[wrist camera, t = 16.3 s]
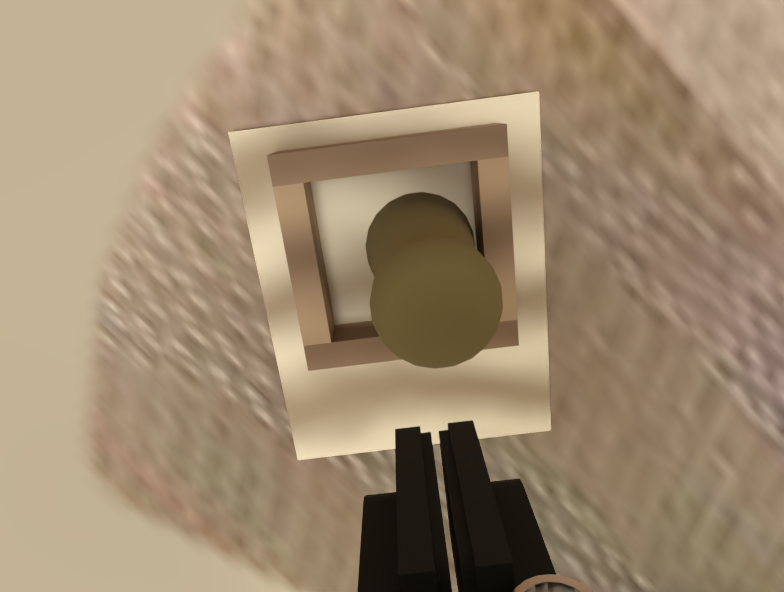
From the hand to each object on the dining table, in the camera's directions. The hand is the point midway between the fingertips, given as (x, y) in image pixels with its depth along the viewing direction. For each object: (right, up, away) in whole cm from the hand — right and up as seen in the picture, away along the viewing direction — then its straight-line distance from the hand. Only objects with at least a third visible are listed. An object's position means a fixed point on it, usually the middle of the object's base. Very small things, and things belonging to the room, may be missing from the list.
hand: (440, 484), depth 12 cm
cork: (+1, +7, +19) cm, 20 cm away
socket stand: (0, +4, +21) cm, 21 cm away
